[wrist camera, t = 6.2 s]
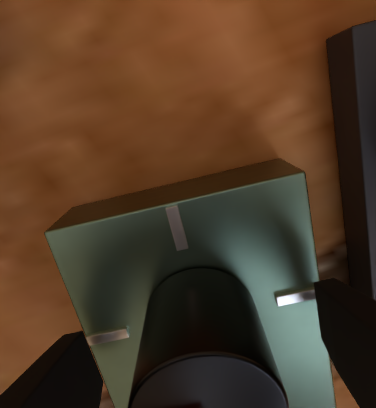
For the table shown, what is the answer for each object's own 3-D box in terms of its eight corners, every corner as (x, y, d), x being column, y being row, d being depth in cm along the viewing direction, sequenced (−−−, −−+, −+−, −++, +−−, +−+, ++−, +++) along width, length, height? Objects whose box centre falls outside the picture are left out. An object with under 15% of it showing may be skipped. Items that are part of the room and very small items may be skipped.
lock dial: (244, 255, 10) (281, 348, 6) (263, 348, 11) (306, 476, 7) (132, 280, 10) (101, 384, 6) (162, 369, 11) (150, 503, 7)
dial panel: (313, 371, 14) (341, 428, 12) (143, 404, 15) (135, 465, 12) (280, 157, 11) (308, 172, 9) (71, 207, 12) (40, 234, 9)
